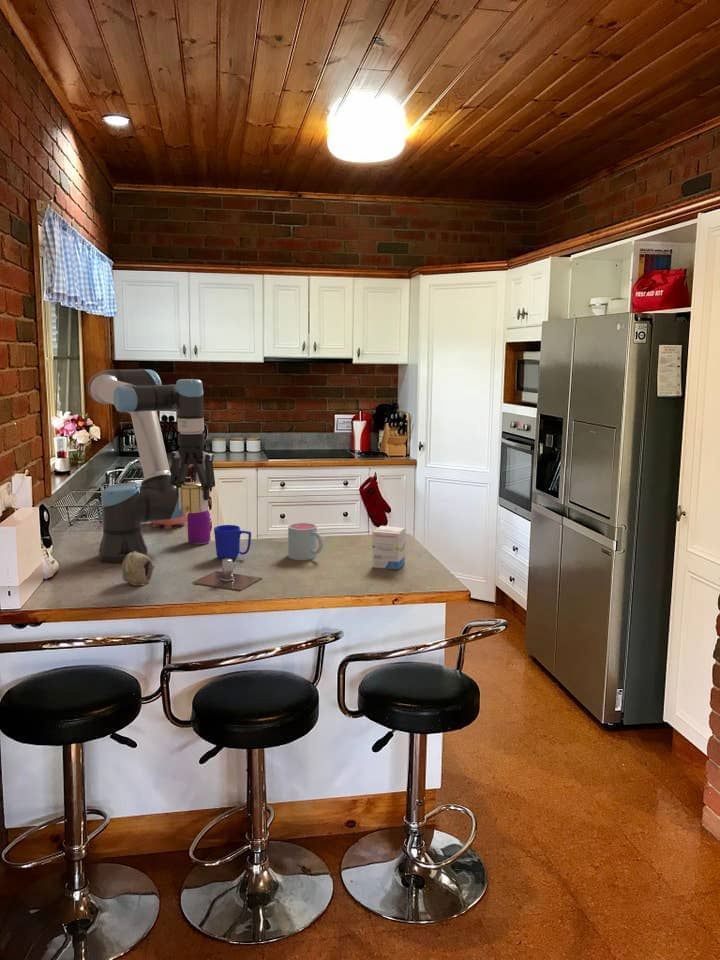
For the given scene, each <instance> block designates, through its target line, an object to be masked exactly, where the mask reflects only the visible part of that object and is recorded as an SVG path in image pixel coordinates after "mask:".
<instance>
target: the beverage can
mask: <svg viewBox="0 0 720 960" xmlns="http://www.w3.org/2000/svg"><path fill="white" fill-rule="evenodd" d="M186 522H187V542H189V543H190V545H194V546H195V545H196V546H199V545H201V544H203V545H206V544H205V543H207V544H209V543H210V542H211V514H210V511H209V509H208V510H207V511H204V512H200V513H188V515H187V521H186ZM201 546H202V545H201Z"/></svg>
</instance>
